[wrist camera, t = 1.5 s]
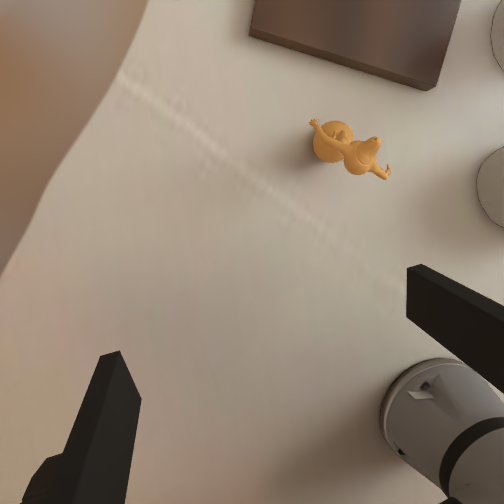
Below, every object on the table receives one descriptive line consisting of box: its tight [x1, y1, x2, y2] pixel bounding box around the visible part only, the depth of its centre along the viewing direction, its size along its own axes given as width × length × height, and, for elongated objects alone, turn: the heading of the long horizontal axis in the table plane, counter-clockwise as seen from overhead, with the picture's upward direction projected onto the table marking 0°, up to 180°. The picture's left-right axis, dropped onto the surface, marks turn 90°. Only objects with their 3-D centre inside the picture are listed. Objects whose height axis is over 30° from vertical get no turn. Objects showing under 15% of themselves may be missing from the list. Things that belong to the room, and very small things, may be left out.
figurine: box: [309, 119, 390, 180], centre depth 26 cm, size 8×6×12 cm
